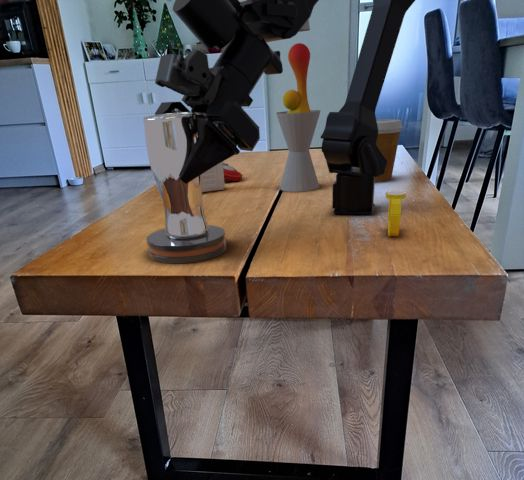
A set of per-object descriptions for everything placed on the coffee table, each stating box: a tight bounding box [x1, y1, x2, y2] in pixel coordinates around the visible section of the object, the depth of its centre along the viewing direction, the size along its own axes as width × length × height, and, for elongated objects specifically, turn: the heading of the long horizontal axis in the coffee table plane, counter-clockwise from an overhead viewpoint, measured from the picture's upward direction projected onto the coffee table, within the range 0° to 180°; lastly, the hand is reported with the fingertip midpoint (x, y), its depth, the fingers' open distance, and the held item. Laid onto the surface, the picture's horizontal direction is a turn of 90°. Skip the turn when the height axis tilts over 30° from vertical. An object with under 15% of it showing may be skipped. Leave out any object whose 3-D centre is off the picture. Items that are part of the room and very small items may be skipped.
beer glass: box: [142, 111, 209, 239], centre depth 65 cm, size 7×7×15 cm
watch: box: [385, 189, 407, 237], centre depth 70 cm, size 6×3×6 cm, turn 170°
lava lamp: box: [275, 18, 321, 193], centre depth 98 cm, size 9×9×35 cm
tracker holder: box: [223, 161, 243, 182], centre depth 120 cm, size 12×4×10 cm
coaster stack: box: [146, 224, 227, 264], centre depth 69 cm, size 11×11×2 cm
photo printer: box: [202, 161, 226, 193], centre depth 106 cm, size 10×4×12 cm, turn 117°
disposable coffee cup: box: [375, 118, 404, 183], centre depth 107 cm, size 10×10×12 cm
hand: (170, 178), depth 64 cm, fingers closed on beer glass, 7 cm apart
